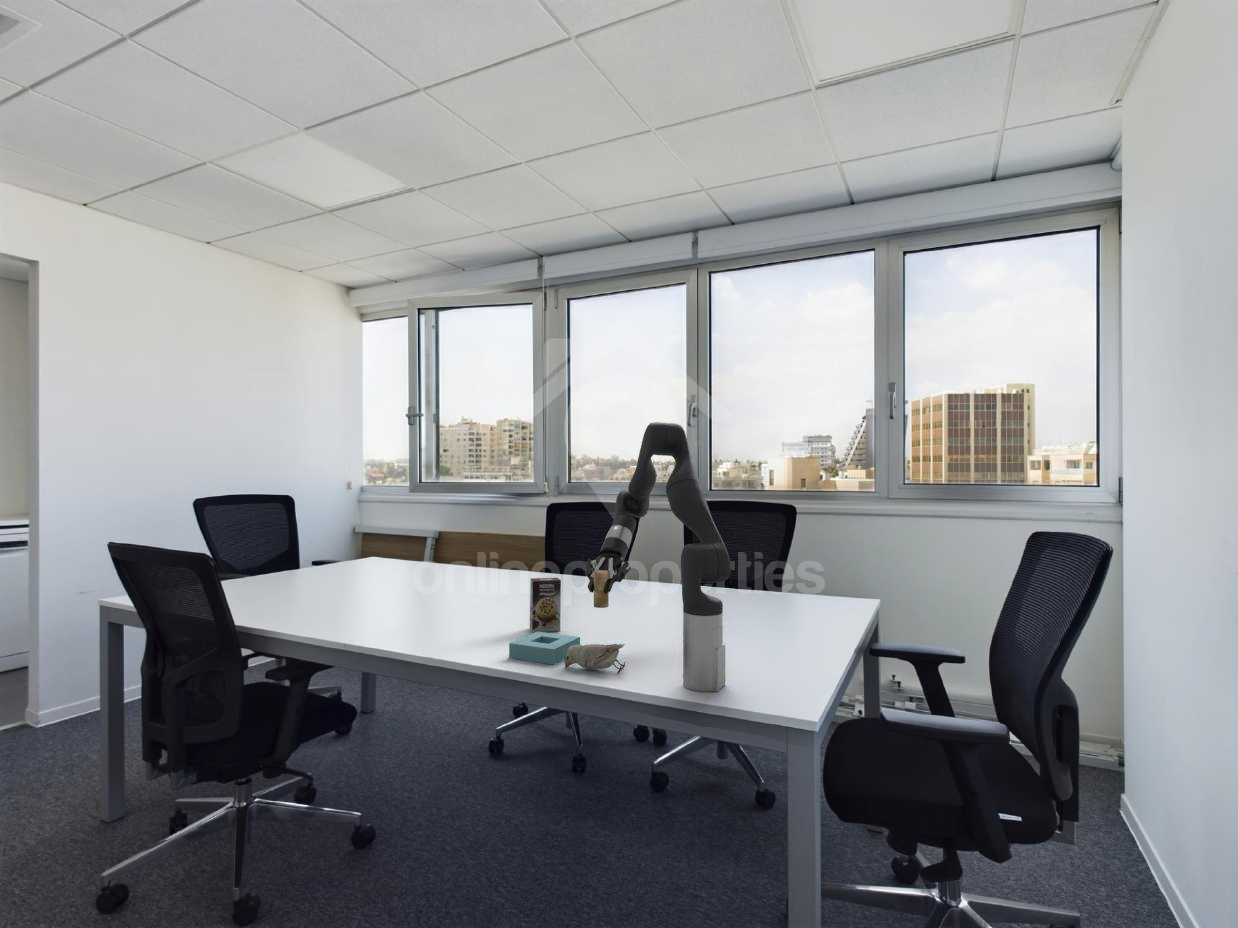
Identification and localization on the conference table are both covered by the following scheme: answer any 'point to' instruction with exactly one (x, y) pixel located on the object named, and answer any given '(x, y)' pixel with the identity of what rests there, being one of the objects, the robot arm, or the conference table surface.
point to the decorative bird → (593, 656)
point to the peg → (600, 589)
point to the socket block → (542, 647)
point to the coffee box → (545, 604)
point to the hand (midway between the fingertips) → (598, 591)
